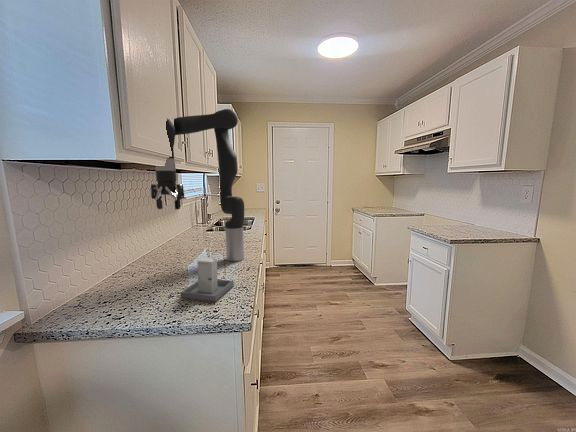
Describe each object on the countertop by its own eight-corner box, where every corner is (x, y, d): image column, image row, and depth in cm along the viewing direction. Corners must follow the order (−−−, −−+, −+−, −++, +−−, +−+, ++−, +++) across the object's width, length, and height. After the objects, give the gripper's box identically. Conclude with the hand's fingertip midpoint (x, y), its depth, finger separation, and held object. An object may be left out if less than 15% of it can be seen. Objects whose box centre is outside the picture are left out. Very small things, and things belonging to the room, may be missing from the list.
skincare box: (197, 291, 98) (196, 260, 97) (204, 287, 103) (203, 257, 101) (212, 293, 97) (210, 262, 95) (218, 288, 101) (217, 258, 99)
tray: (202, 283, 108) (202, 277, 107) (233, 286, 104) (233, 280, 104) (180, 298, 94) (180, 292, 94) (215, 302, 91) (215, 296, 91)
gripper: (186, 169, 110) (188, 208, 112) (157, 170, 113) (160, 207, 116) (174, 169, 102) (177, 210, 105) (144, 170, 106) (147, 209, 108)
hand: (168, 209), depth 110 cm, fingers open, 8 cm apart
